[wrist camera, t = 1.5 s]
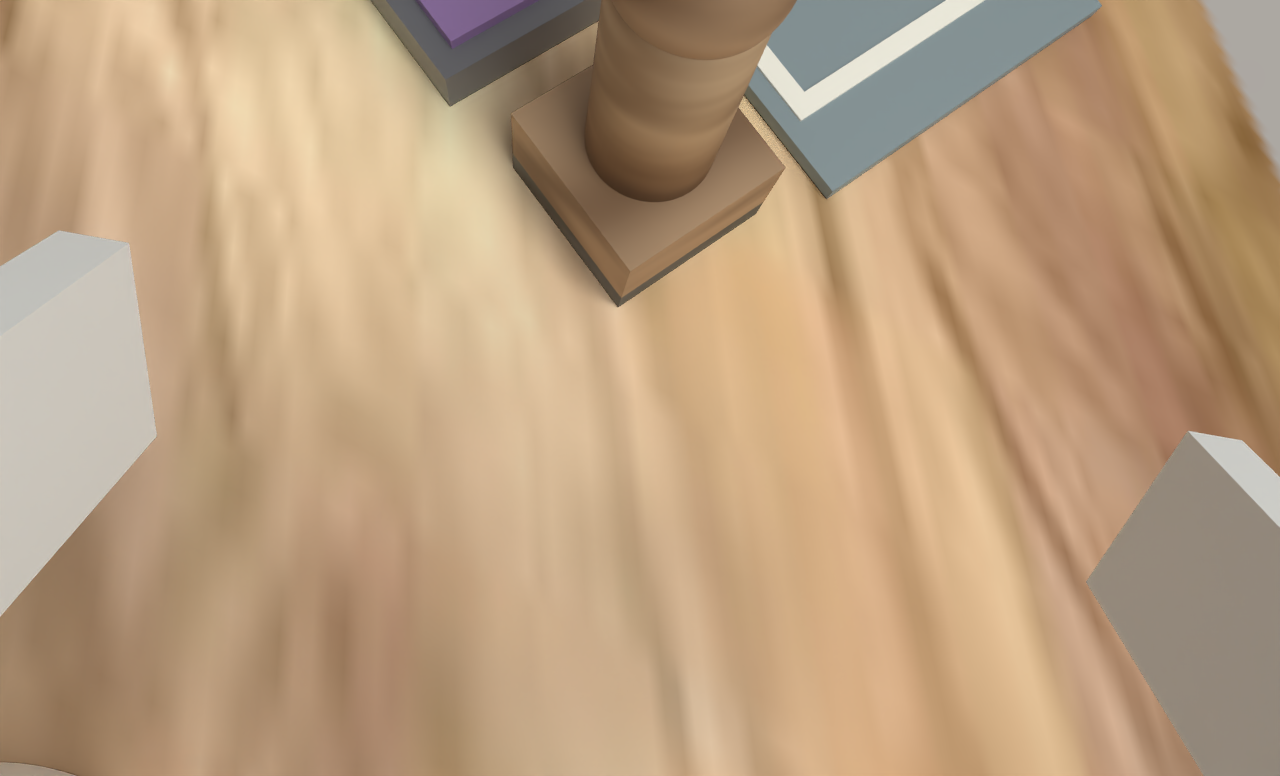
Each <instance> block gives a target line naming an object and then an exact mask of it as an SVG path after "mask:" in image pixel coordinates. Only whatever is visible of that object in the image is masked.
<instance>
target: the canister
mask: <svg viewBox="0 0 1280 776" xmlns="http://www.w3.org/2000/svg"><path fill="white" fill-rule="evenodd" d="M0 776H76V775H73V774H70V773H66V772H63V771H59V770H55V769H51V768H47V767H42V766H36V765H30V764H22V763H9V762H0Z"/></svg>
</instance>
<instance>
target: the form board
mask: <svg viewBox="0 0 1280 776" xmlns="http://www.w3.org/2000/svg"><path fill="white" fill-rule="evenodd" d="M1101 6H1102V5H1101V4H1100V3H1099V1H1098V0H797V1H796V3H795V5H794V6H793V8H792V10H791V11H790V13H789V14H788V15H787V17H786V18H785V19H784V21H783V22H782V23H781V24H780V25H779V26H778V28H777V29H775V30H774V31H773V32H772V34H771V37H770V39H769V41H768V43H767V45H766V48H765V50H764V52H763V54H762V56H761V59H760V61H759V63H758V65H757V67H756V70H755V72H754V74H753V76H752V78H751V80H750V83H749V85H748V87H747V89H746V91H745V94H744V95H745V96H746V97H747V99H748V100H749V101H750V102H751V104H752V105H753V106H754V107H755V109H756V110H757V111H758V113H759V114H760V115H761V116H762V118H763V119H764V120H765V121H766V123H767V124H768V125H769V126H770V128H771V129H772V130H773V132H774V133H775V134H776V135H777V137H778V138H779V139H780V140H781V142H782V143H783V144H784V145H785V147H786V148H787V149H788V150H789V152H790V153H791V154H792V156H793V157H794V158H795V159H796V161H797V162H798V163H799V164H800V166H801V167H802V168H803V169H804V171H805V172H806V173H807V175H808V176H809V177H810V178H811V180H812V181H813V182H814V183H815V185H816V186H817V187H818V188H819V190H820V191H821V192H822V193H823V195H824V196H825V197H826V199H827V198H829V197H830V196H832V195H833V194H835V193H836V192H838V191H839V190H840V189H842V188H843V187H845V186H846V185H848V184H849V183H851V182H852V181H854V180H855V179H856V178H858V177H859V176H861V175H862V174H864V173H865V172H867V171H868V170H869V169H871V168H872V167H874V166H875V165H877V164H878V163H880V162H881V161H882V160H884V159H885V158H887V157H888V156H890V155H891V154H893V153H894V152H895V151H897V150H898V149H900V148H901V147H903V146H904V145H906V144H907V143H908V142H910V141H911V140H913V139H914V138H916V137H917V136H919V135H920V134H921V133H923V132H924V131H926V130H927V129H929V128H930V127H932V126H933V125H934V124H936V123H937V122H939V121H940V120H942V119H943V118H945V117H946V116H948V115H949V114H950V113H952V112H953V111H955V110H956V109H958V108H959V107H961V106H962V105H963V104H965V103H966V102H968V101H969V100H971V99H972V98H974V97H975V96H976V95H978V94H979V93H981V92H982V91H984V90H985V89H987V88H988V87H989V86H991V85H992V84H994V83H995V82H997V81H998V80H1000V79H1001V78H1002V77H1004V76H1005V75H1007V74H1008V73H1010V72H1011V71H1013V70H1014V69H1015V68H1017V67H1018V66H1020V65H1021V64H1023V63H1024V62H1026V61H1027V60H1028V59H1030V58H1031V57H1033V56H1034V55H1036V54H1037V53H1039V52H1040V51H1042V50H1043V49H1044V48H1046V47H1047V46H1049V45H1050V44H1052V43H1053V42H1055V41H1056V40H1057V39H1059V38H1060V37H1062V36H1063V35H1065V34H1066V33H1068V32H1069V31H1070V30H1072V29H1073V28H1075V27H1076V26H1078V25H1079V24H1081V23H1082V22H1083V21H1085V20H1086V19H1088V18H1089V17H1091V16H1092V15H1093V14H1094V13H1095V12H1096V11H1097V10H1098V9H1099V8H1100V7H1101Z"/></svg>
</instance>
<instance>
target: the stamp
mask: <svg viewBox="0 0 1280 776" xmlns="http://www.w3.org/2000/svg"><path fill="white" fill-rule="evenodd" d="M796 1H797V0H601V7H600V15H599V23H598V31H597V39H596V47H595V55H594V63H593V65H592V66H590V67H588V68H587V69H585V70H583V71H582V72H580V73H578V74H577V75H575V76H573V77H571V78H570V79H568V80H566V81H565V82H563V83H561V84H560V85H558V86H556V87H555V88H553V89H551V90H549V91H548V92H546V93H544V94H543V95H541V96H539V97H538V98H536V99H534V100H533V101H531V102H529V103H528V104H526V105H524V106H522V107H521V108H519V109H517V110H516V111H514V112H512V113H511V124H512V147H513V168H514V169H515V170H516V172H517V173H518V174H519V176H520V177H521V178H522V180H523V181H524V182H525V184H526V185H527V186H528V188H529V189H530V190H531V192H532V193H533V195H534V196H535V197H536V199H537V200H538V201H539V203H540V204H541V205H542V207H543V208H544V209H545V211H546V212H547V213H548V215H549V216H550V217H551V219H552V220H553V221H554V223H555V224H556V225H557V227H558V228H559V229H560V231H561V232H562V233H563V235H564V236H565V237H566V239H567V240H568V241H569V243H570V244H571V245H572V247H573V248H574V249H575V251H576V252H577V253H578V255H579V256H580V257H581V259H582V260H583V261H584V263H585V264H586V265H587V267H588V268H589V269H590V271H591V272H592V273H593V275H594V276H595V277H596V279H597V280H598V281H599V283H600V284H601V285H602V287H603V288H604V289H605V291H606V292H607V293H608V295H609V296H610V297H611V299H612V300H613V301H614V303H615V304H616V305H617V307H619V306H621V305H622V304H624V303H625V302H627V301H628V300H630V299H631V298H633V297H634V296H636V295H637V294H639V293H640V292H641V291H643V290H644V289H646V288H647V287H649V286H650V285H652V284H653V283H655V282H656V281H658V280H659V279H661V278H662V277H664V276H665V275H667V274H668V273H669V272H671V271H672V270H674V269H675V268H677V267H678V266H680V265H681V264H683V263H684V262H686V261H687V260H689V259H690V258H692V257H693V256H694V255H696V254H697V253H699V252H700V251H702V250H703V249H705V248H706V247H708V246H709V245H711V244H712V243H714V242H715V241H717V240H718V239H720V238H721V237H722V236H724V235H725V234H727V233H728V232H730V231H731V230H733V229H734V228H736V227H737V226H739V225H740V224H742V223H743V222H745V221H746V220H747V219H749V218H750V217H752V216H753V215H755V214H756V213H757V211H758V209H759V208H760V206H761V205H762V203H763V202H764V200H765V199H766V197H767V195H768V194H769V192H770V191H771V189H772V188H773V186H774V185H775V183H776V181H777V180H778V178H779V177H780V175H781V174H782V172H783V171H784V169H785V168H786V167H785V166H784V165H783V164H782V162H781V161H780V160H779V159H778V157H777V156H776V155H775V153H774V152H773V151H772V150H771V148H770V147H769V146H768V145H767V143H766V142H765V141H764V140H763V138H762V137H761V136H760V134H759V133H758V132H757V131H756V129H755V128H754V127H753V126H752V124H751V123H750V122H749V120H748V119H747V118H746V117H745V115H744V114H743V113H742V112H741V110H740V109H739V108H738V107H739V105H740V102H741V100H742V98H743V96H744V94H745V91H746V89H747V87H748V85H749V83H750V80H751V78H752V76H753V74H754V72H755V70H756V67H757V65H758V63H759V61H760V59H761V56H762V54H763V52H764V50H765V48H766V45H767V43H768V41H769V39H770V37H771V34H772V32H773V31H774V30H775V29H777V28H778V26H779V25H780V24H781V23H782V22H783V21H784V19H785V18H786V17H787V15H788V14H789V13H790V11H791V10H792V8H793V6H794V5H795V3H796Z"/></svg>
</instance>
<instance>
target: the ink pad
mask: <svg viewBox="0 0 1280 776" xmlns="http://www.w3.org/2000/svg"><path fill="white" fill-rule="evenodd" d="M371 1H372V2H373V4H374V5H375V6H376V8H377V9H378V10H379V12H380V13H381V14H382V16H383V17H384V18H385V20H386V21H387V22H388V24H389V25H390V27H391V28H392V29H393V31H394V32H395V33H396V35H397V36H398V37H399V39H400V40H401V41H402V43H403V44H404V45H405V47H406V48H407V49H408V51H409V52H410V53H411V55H412V56H413V57H414V59H415V60H416V61H417V63H418V64H419V65H420V67H421V68H422V69H423V71H424V72H425V73H426V75H427V76H428V77H429V79H430V80H431V81H432V83H433V84H434V85H435V87H436V88H437V89H438V91H439V92H440V93H441V95H442V96H443V97H444V99H445V100H446V101H447V103H448V104H449V105H450V106H452V105H453V104H455V103H457V102H459V101H460V100H462V99H464V98H465V97H467V96H469V95H471V94H472V93H474V92H476V91H478V90H479V89H481V88H483V87H484V86H486V85H488V84H490V83H491V82H493V81H495V80H497V79H498V78H500V77H502V76H504V75H505V74H507V73H509V72H510V71H512V70H514V69H516V68H517V67H519V66H521V65H523V64H524V63H526V62H528V61H529V60H531V59H533V58H535V57H536V56H538V55H540V54H542V53H543V52H545V51H547V50H549V49H550V48H552V47H554V46H555V45H557V44H559V43H561V42H562V41H564V40H566V39H568V38H569V37H571V36H573V35H574V34H576V33H578V32H580V31H581V30H583V29H585V28H587V27H588V26H590V25H592V24H594V23H595V22H597V21H599V15H600V7H601V0H371Z"/></svg>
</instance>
